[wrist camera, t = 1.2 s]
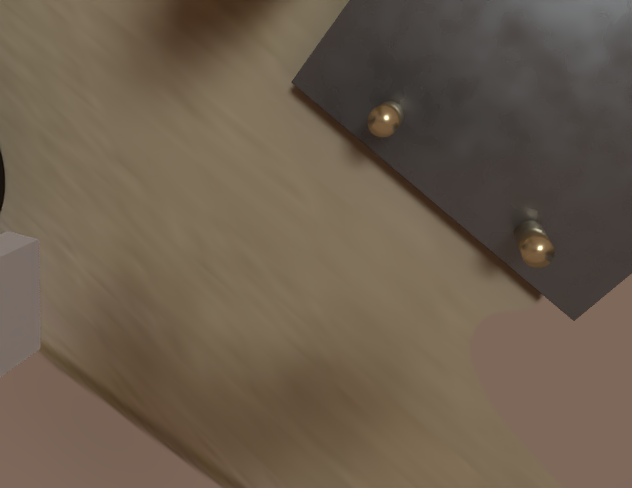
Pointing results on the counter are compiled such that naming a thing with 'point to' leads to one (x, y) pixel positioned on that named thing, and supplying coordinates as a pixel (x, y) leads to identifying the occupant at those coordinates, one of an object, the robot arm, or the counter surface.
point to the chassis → (499, 124)
